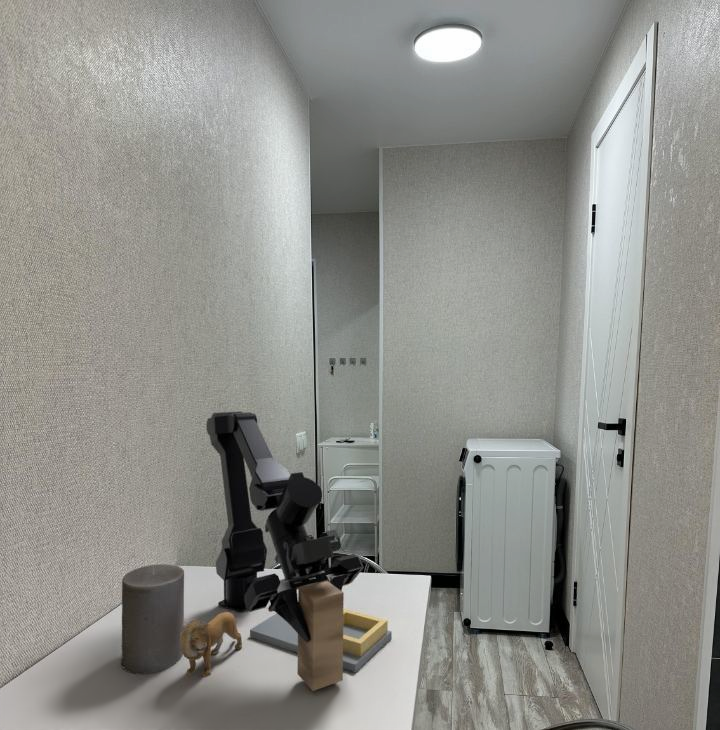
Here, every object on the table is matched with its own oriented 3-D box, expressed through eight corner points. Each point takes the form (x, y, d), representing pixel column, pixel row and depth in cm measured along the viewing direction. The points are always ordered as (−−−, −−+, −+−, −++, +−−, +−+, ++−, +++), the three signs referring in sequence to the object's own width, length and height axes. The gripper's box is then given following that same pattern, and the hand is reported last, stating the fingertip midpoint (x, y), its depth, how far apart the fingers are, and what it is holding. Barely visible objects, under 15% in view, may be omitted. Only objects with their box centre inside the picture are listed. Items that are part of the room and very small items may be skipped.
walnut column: (297, 674, 79) (298, 587, 79) (326, 664, 82) (327, 580, 82) (312, 691, 75) (313, 600, 75) (342, 680, 78) (343, 592, 78)
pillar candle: (107, 667, 83) (107, 573, 84) (152, 637, 93) (152, 552, 93) (155, 680, 80) (155, 582, 80) (197, 648, 89) (197, 560, 89)
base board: (250, 636, 93) (249, 618, 93) (292, 609, 103) (292, 593, 103) (355, 672, 81) (355, 651, 81) (391, 638, 91) (391, 619, 91)
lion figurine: (202, 692, 77) (201, 630, 77) (170, 687, 78) (170, 626, 78) (248, 641, 91) (248, 589, 91) (221, 638, 92) (220, 587, 92)
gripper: (250, 524, 77) (283, 631, 67) (356, 505, 87) (398, 595, 78) (232, 562, 83) (260, 664, 74) (333, 540, 94) (368, 627, 84)
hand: (324, 635), depth 77 cm, fingers closed on walnut column, 5 cm apart
